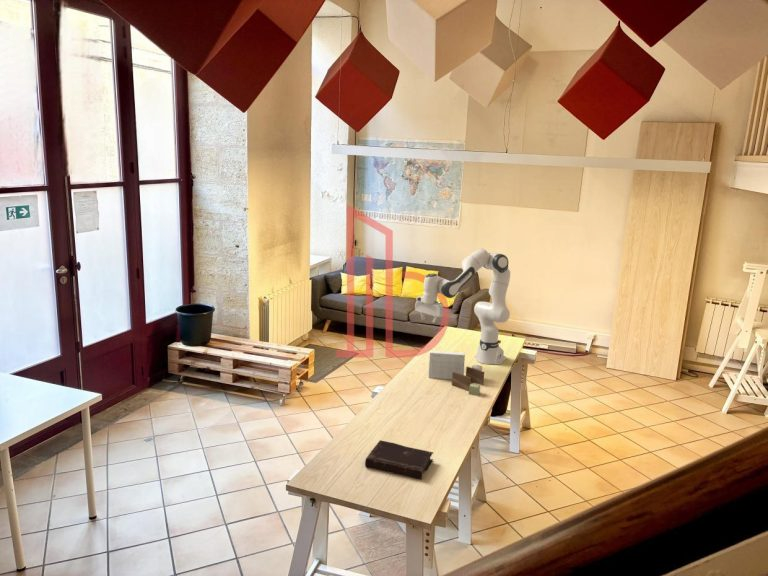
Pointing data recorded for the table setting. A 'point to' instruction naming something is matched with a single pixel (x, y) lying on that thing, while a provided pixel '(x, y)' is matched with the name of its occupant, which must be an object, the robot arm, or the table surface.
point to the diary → (399, 459)
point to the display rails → (467, 378)
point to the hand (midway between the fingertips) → (428, 320)
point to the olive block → (474, 389)
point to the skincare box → (445, 364)
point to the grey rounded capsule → (477, 367)
